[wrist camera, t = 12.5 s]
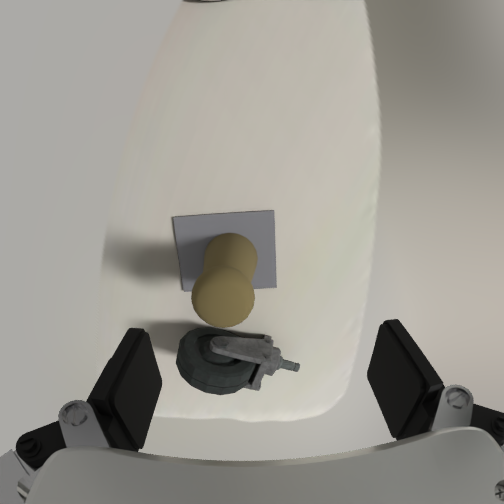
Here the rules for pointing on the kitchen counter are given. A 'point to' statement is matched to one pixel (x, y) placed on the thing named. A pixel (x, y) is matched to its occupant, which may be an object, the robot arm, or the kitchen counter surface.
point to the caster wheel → (227, 361)
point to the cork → (226, 281)
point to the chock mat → (212, 225)
